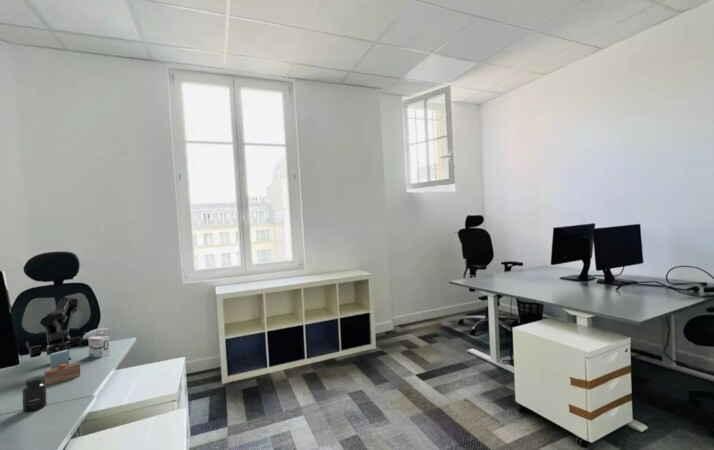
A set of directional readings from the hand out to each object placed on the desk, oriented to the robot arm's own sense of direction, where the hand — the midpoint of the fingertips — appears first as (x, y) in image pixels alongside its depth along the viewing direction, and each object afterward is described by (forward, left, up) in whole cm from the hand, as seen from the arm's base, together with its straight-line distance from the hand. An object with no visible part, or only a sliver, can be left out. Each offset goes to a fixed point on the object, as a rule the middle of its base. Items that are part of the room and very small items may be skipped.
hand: (58, 361), depth 159 cm
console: (+6, 0, -7) cm, 10 cm away
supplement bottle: (+31, -11, -7) cm, 34 cm away
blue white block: (+3, 0, -6) cm, 7 cm away
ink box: (-12, +18, -7) cm, 23 cm away
